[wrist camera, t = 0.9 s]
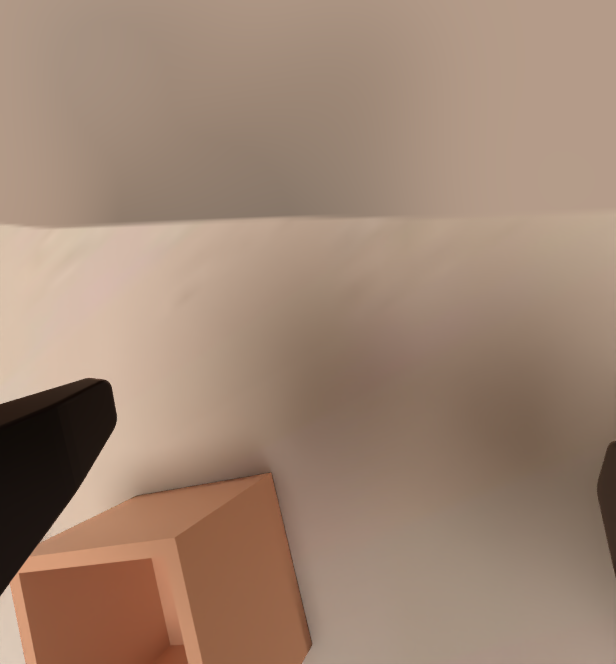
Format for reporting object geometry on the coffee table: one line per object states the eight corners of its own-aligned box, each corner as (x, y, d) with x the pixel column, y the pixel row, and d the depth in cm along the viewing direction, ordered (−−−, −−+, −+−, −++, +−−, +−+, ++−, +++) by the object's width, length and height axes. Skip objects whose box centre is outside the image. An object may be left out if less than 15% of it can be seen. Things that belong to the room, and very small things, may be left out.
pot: (312, 645, 24) (230, 788, 17) (170, 649, 27) (47, 774, 20) (271, 472, 25) (174, 537, 17) (136, 495, 28) (4, 559, 20)
